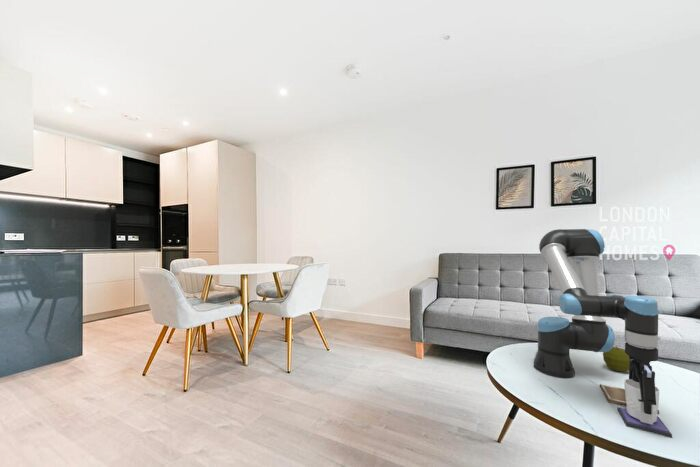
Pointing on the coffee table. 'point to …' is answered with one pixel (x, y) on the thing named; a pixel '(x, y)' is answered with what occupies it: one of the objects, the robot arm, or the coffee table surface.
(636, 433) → the coffee table surface
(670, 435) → the ink pad
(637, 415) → the white cup
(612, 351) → the apple
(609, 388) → the brown square coaster
